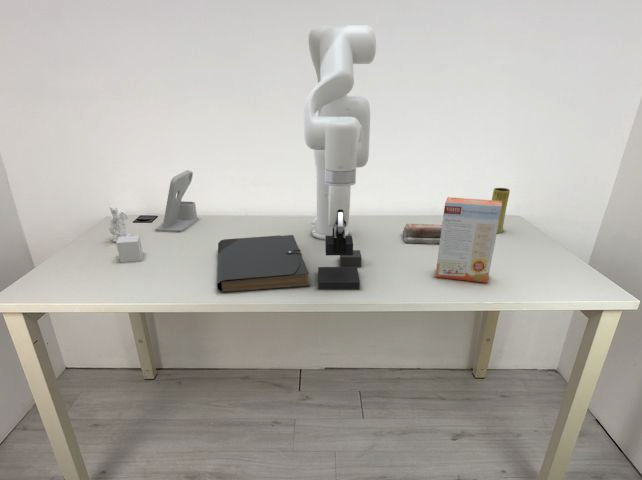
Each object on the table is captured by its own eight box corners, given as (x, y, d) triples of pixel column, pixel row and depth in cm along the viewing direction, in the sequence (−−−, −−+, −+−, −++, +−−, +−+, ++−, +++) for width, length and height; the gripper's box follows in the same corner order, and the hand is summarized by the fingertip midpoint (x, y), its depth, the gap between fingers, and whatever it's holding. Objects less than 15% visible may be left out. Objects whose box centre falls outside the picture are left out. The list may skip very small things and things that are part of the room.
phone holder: (174, 217, 181) (166, 168, 172) (200, 218, 180) (193, 169, 171) (155, 230, 166) (145, 177, 157) (182, 232, 165) (174, 178, 156)
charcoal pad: (325, 255, 121) (325, 244, 119) (325, 246, 127) (325, 235, 125) (352, 255, 121) (353, 244, 119) (351, 246, 127) (351, 235, 125)
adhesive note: (120, 262, 140) (115, 243, 137) (123, 255, 145) (118, 236, 142) (141, 260, 141) (137, 241, 138) (143, 254, 146) (139, 235, 143)
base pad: (317, 289, 124) (317, 282, 122) (318, 273, 133) (318, 266, 132) (359, 289, 124) (360, 282, 123) (356, 273, 133) (357, 266, 132)
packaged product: (405, 229, 153) (403, 220, 161) (404, 243, 155) (402, 234, 164) (462, 230, 152) (456, 221, 160) (459, 244, 154) (454, 235, 163)
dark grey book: (309, 272, 123) (216, 279, 119) (310, 286, 125) (218, 294, 122) (293, 233, 151) (217, 238, 147) (294, 246, 153) (219, 251, 149)
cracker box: (488, 276, 132) (503, 200, 121) (487, 284, 127) (502, 205, 116) (437, 269, 135) (447, 195, 125) (434, 277, 131) (445, 200, 120)
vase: (504, 229, 168) (513, 188, 161) (500, 234, 164) (508, 192, 156) (487, 227, 171) (495, 186, 164) (482, 231, 167) (490, 190, 159)
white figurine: (130, 244, 154) (122, 207, 148) (108, 245, 153) (99, 208, 147) (134, 236, 161) (127, 201, 155) (114, 237, 160) (105, 201, 154)
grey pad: (340, 266, 137) (340, 257, 136) (339, 259, 142) (340, 250, 141) (361, 266, 137) (361, 257, 136) (359, 259, 142) (360, 250, 141)
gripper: (324, 170, 121) (324, 237, 131) (325, 184, 107) (324, 259, 116) (353, 170, 121) (351, 237, 131) (358, 184, 107) (355, 259, 116)
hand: (338, 247), depth 123 cm, fingers closed on charcoal pad, 7 cm apart
